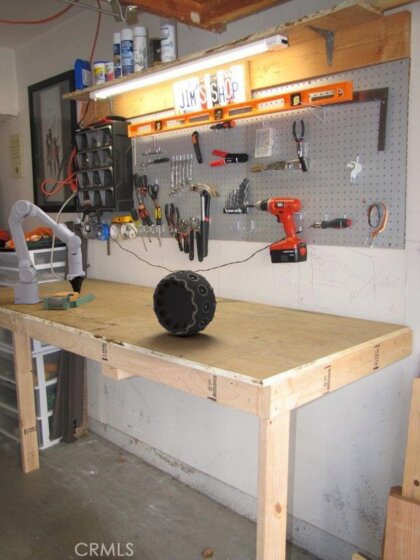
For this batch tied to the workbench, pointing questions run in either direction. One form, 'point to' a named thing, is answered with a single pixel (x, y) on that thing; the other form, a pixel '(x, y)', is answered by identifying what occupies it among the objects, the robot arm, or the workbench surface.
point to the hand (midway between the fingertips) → (77, 293)
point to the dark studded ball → (184, 303)
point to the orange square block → (64, 294)
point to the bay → (66, 301)
